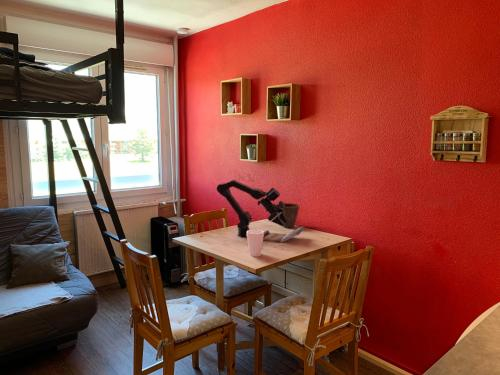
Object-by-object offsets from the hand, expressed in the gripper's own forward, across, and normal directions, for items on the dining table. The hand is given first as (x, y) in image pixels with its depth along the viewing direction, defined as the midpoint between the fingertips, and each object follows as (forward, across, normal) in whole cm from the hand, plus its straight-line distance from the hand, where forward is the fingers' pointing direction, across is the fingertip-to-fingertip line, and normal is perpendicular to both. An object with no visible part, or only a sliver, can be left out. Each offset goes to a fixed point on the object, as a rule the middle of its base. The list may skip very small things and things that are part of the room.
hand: (285, 224), depth 237 cm
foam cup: (+2, -35, +13) cm, 37 cm away
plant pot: (+3, +34, +12) cm, 36 cm away
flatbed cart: (+1, 0, +13) cm, 13 cm away
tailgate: (+5, 0, +7) cm, 8 cm away
